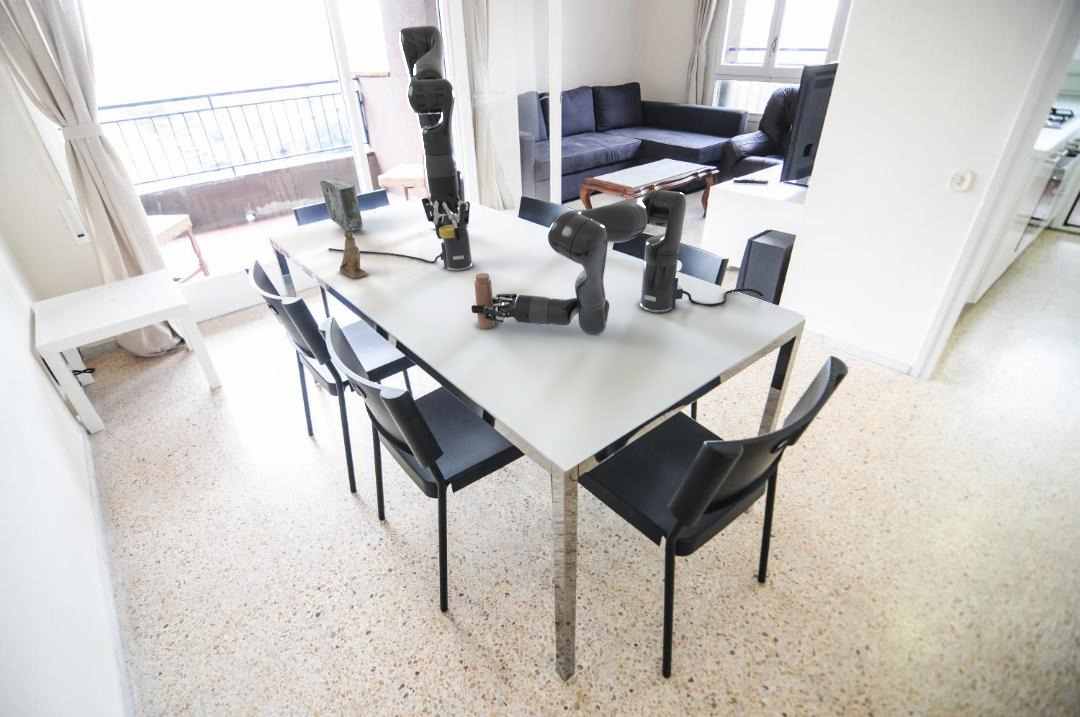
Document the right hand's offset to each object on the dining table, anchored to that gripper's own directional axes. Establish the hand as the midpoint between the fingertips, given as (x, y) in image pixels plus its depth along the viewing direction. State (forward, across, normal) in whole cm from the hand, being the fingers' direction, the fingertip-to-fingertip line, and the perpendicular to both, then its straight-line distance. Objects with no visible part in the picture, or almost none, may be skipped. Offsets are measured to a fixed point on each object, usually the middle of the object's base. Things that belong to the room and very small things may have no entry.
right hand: (475, 304), depth 138 cm
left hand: (+6, -1, -18) cm, 19 cm away
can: (+52, -85, +6) cm, 99 cm away
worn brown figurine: (+59, -28, +6) cm, 66 cm away
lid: (+5, -1, -21) cm, 22 cm away
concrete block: (+93, -77, +6) cm, 121 cm away
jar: (-3, 0, +6) cm, 7 cm away
